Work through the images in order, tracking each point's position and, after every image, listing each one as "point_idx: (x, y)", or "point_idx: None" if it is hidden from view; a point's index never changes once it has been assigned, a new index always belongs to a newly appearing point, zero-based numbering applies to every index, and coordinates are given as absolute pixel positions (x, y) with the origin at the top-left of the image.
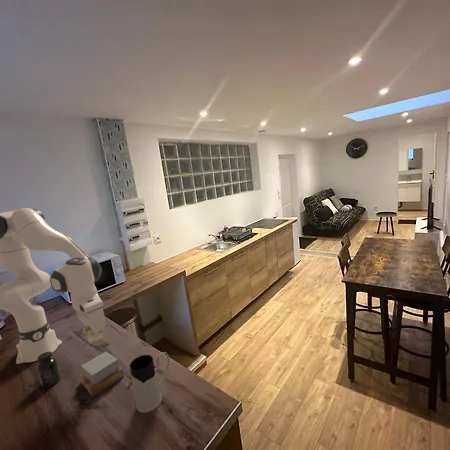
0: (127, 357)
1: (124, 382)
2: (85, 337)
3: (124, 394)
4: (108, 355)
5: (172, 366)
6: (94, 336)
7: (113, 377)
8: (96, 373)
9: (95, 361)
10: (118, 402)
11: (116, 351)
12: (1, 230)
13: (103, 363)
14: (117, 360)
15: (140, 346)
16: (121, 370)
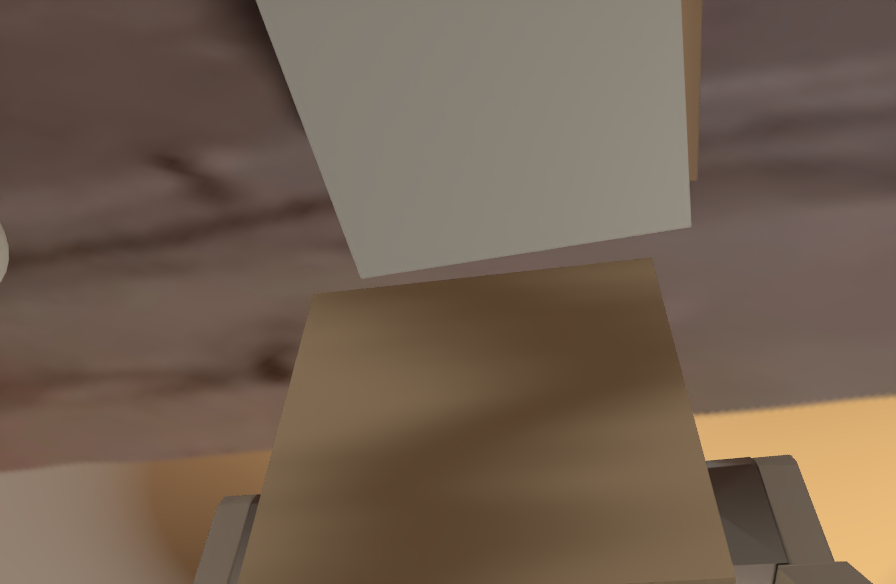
0: None
1: (267, 152)
2: (603, 326)
3: (93, 106)
4: (551, 225)
5: (202, 442)
6: (217, 519)
7: None
8: (266, 13)
9: (570, 66)
10: (11, 35)
11: (867, 232)
12: None
13: (416, 139)
14: (360, 266)
15: (689, 393)
16: None
